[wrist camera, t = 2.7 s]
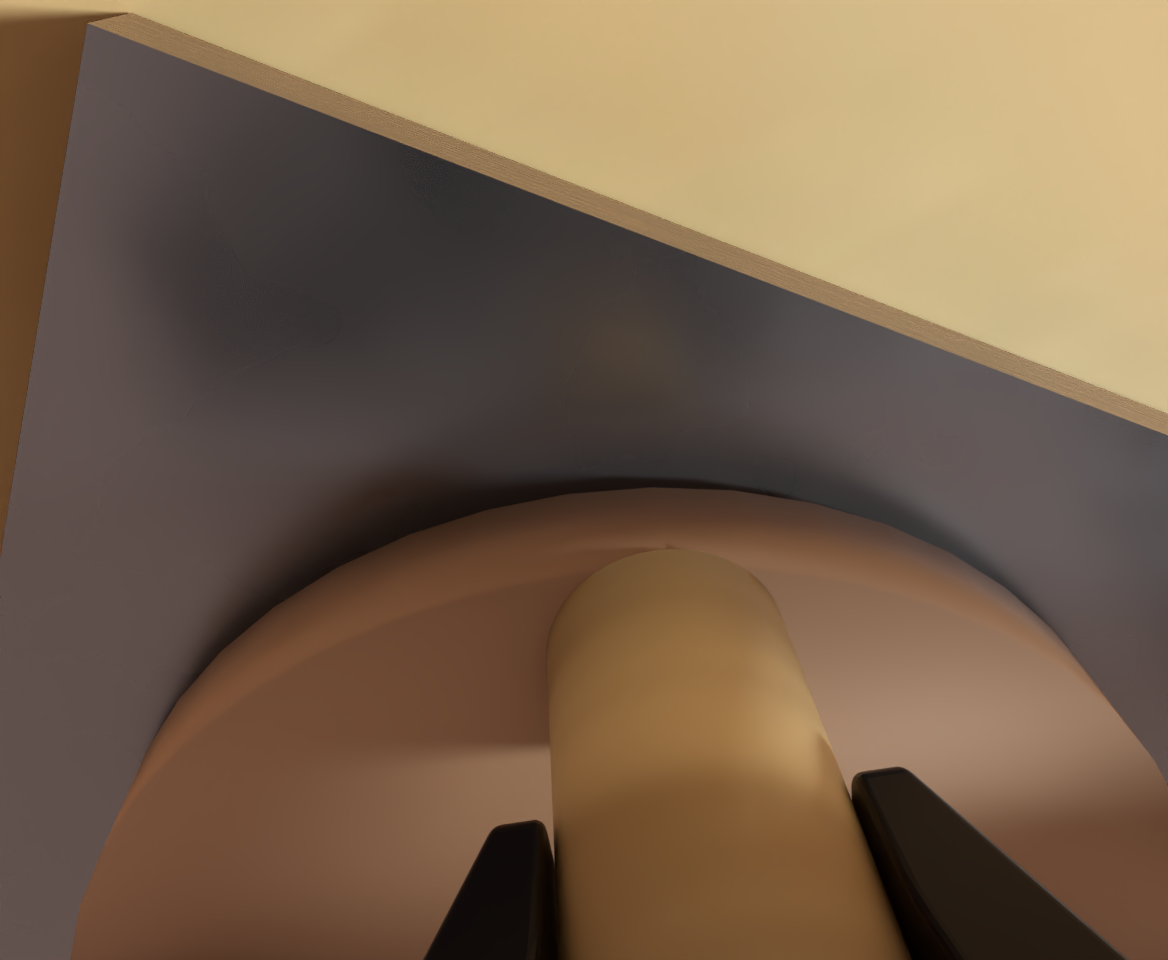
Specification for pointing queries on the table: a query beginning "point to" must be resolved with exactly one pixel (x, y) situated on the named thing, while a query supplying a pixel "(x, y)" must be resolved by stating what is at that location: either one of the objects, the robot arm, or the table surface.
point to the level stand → (454, 412)
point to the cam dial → (623, 743)
